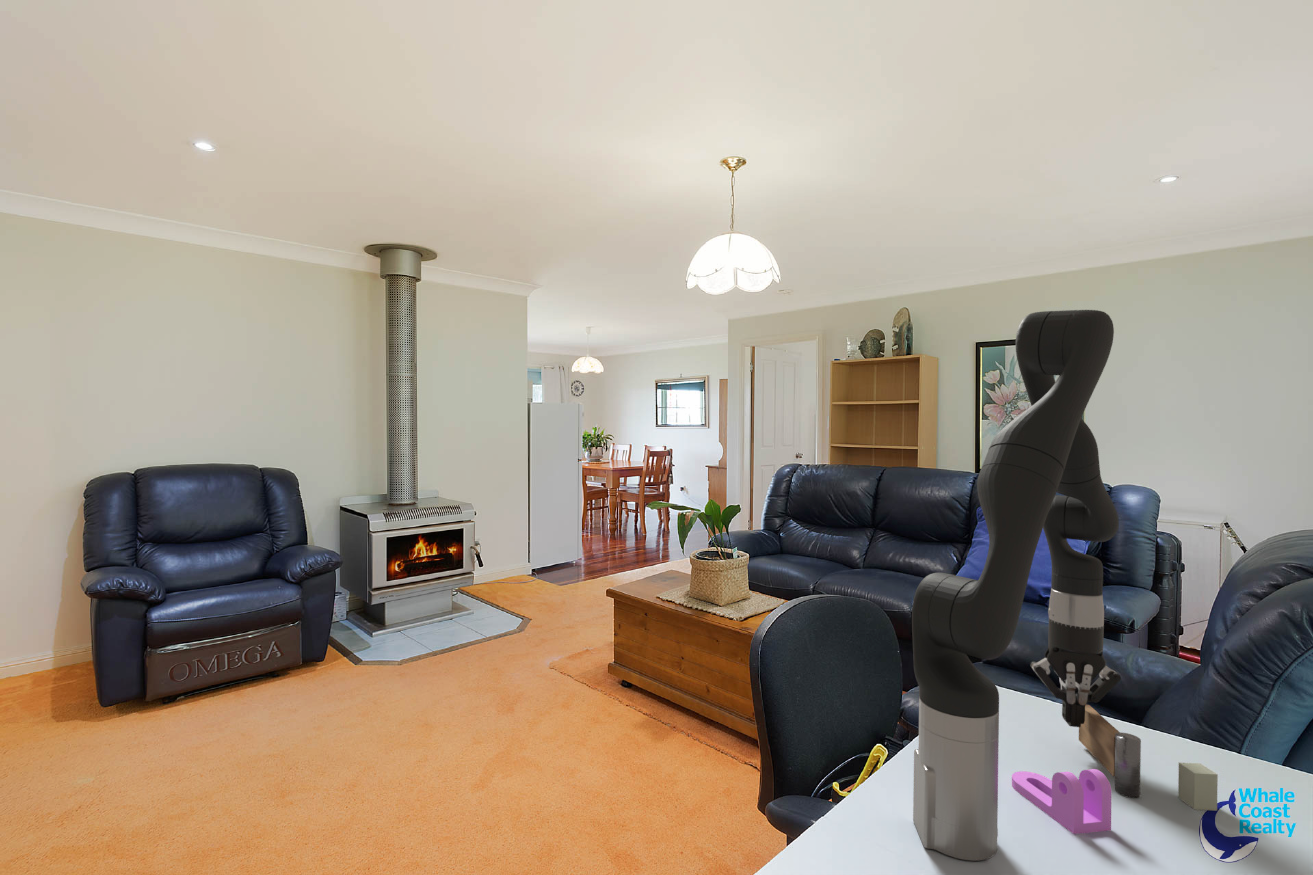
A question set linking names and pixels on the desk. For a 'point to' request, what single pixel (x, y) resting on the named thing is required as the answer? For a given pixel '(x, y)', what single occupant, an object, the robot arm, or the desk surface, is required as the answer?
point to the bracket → (1070, 798)
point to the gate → (1099, 738)
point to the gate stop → (1197, 786)
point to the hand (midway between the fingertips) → (1073, 724)
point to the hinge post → (1127, 764)
